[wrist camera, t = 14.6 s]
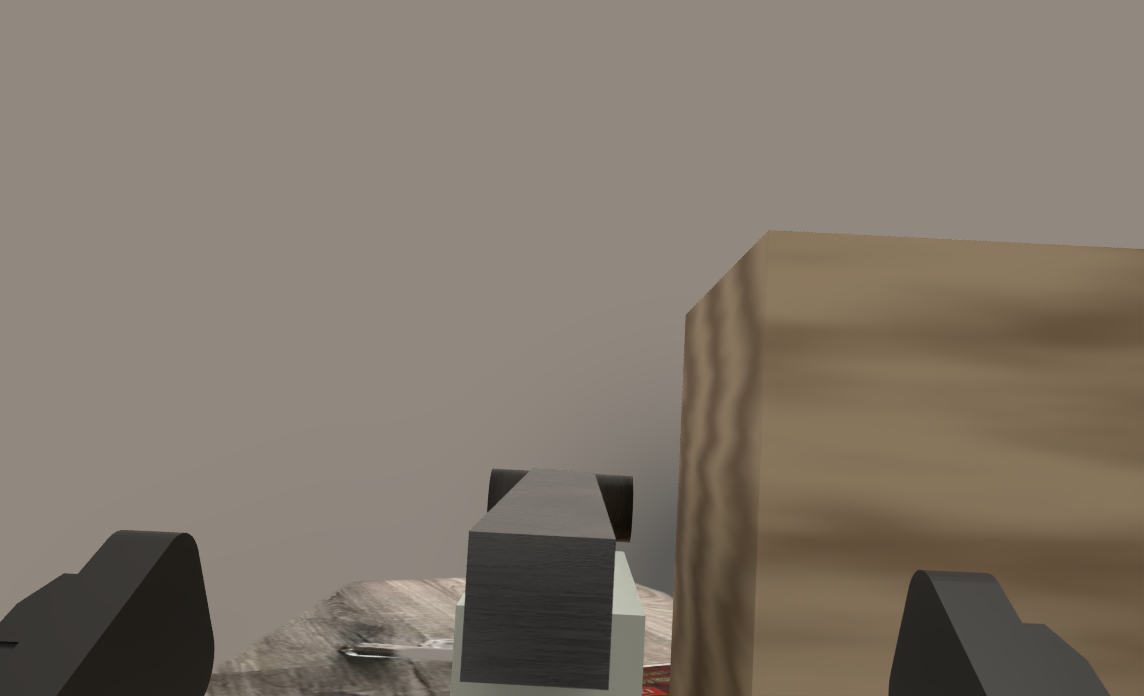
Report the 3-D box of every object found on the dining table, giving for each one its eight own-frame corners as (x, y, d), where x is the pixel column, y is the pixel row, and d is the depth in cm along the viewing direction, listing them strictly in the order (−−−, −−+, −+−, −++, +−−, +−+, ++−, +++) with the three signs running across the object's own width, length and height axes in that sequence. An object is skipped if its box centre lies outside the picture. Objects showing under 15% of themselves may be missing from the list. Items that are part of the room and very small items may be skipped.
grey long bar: (693, 695, 17) (700, 543, 17) (374, 677, 17) (385, 526, 17) (626, 536, 41) (629, 473, 41) (493, 529, 41) (497, 466, 41)
